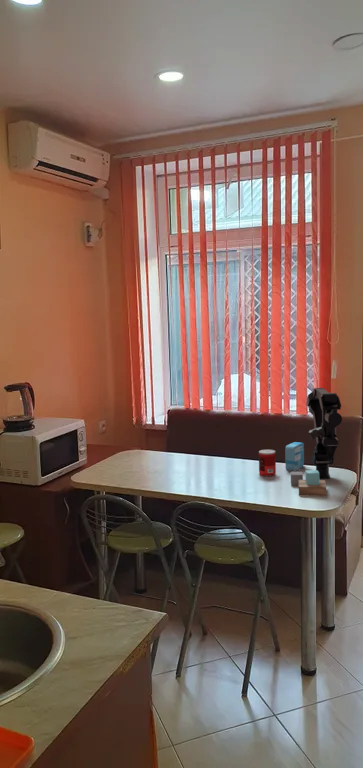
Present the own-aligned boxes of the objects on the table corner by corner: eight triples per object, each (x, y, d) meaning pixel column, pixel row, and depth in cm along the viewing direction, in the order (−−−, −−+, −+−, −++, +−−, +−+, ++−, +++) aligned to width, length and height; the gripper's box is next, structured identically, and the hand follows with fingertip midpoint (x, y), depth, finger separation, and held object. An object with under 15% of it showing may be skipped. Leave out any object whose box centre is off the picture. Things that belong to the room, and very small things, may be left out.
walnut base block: (298, 488, 250) (298, 479, 250) (324, 489, 248) (324, 480, 248) (298, 496, 239) (298, 486, 239) (326, 497, 237) (326, 487, 237)
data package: (294, 471, 277) (293, 446, 275) (285, 470, 279) (285, 445, 278) (304, 466, 287) (304, 442, 285) (295, 465, 289) (295, 441, 288)
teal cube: (305, 481, 246) (305, 470, 245) (317, 481, 246) (317, 470, 245) (307, 485, 241) (307, 473, 241) (319, 485, 241) (319, 473, 240)
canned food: (278, 473, 275) (278, 450, 273) (271, 477, 268) (271, 453, 267) (263, 471, 279) (263, 448, 278) (256, 475, 272) (256, 452, 271)
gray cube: (290, 482, 258) (290, 471, 258) (302, 482, 258) (302, 471, 257) (291, 485, 253) (291, 474, 253) (302, 486, 253) (302, 474, 252)
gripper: (308, 418, 262) (309, 452, 263) (311, 425, 243) (311, 462, 245) (334, 418, 260) (334, 452, 261) (338, 425, 241) (338, 462, 243)
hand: (329, 457), depth 253 cm, fingers open, 9 cm apart
